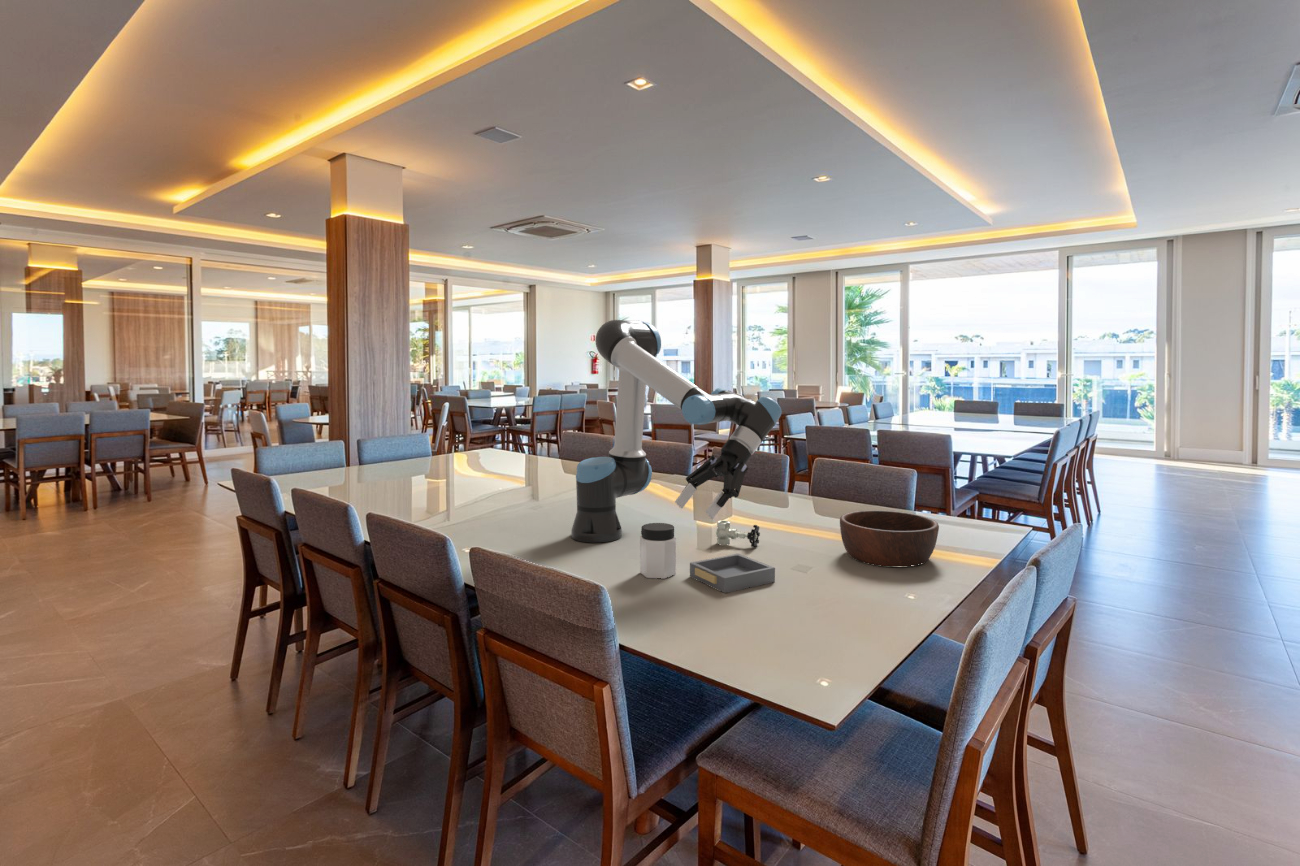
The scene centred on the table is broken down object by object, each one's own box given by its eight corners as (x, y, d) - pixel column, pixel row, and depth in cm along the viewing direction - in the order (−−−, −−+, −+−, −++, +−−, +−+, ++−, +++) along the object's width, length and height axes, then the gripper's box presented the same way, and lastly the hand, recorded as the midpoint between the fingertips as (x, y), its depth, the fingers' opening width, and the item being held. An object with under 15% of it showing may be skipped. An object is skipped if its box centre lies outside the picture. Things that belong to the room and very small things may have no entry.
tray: (687, 576, 167) (687, 563, 166) (738, 566, 175) (738, 553, 174) (722, 593, 155) (722, 578, 154) (774, 581, 163) (775, 567, 162)
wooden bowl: (939, 551, 189) (940, 514, 188) (935, 577, 166) (937, 535, 165) (846, 541, 199) (847, 506, 198) (831, 564, 177) (832, 525, 176)
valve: (712, 546, 194) (753, 551, 189) (712, 523, 194) (753, 527, 189) (720, 540, 200) (759, 545, 195) (720, 518, 200) (760, 522, 195)
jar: (656, 566, 175) (656, 520, 174) (681, 572, 170) (681, 525, 169) (633, 574, 168) (633, 527, 167) (659, 581, 163) (658, 532, 162)
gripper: (779, 462, 170) (731, 529, 164) (719, 451, 191) (675, 510, 185) (763, 442, 167) (714, 510, 160) (704, 433, 188) (658, 492, 182)
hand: (693, 510), depth 173 cm, fingers open, 13 cm apart
